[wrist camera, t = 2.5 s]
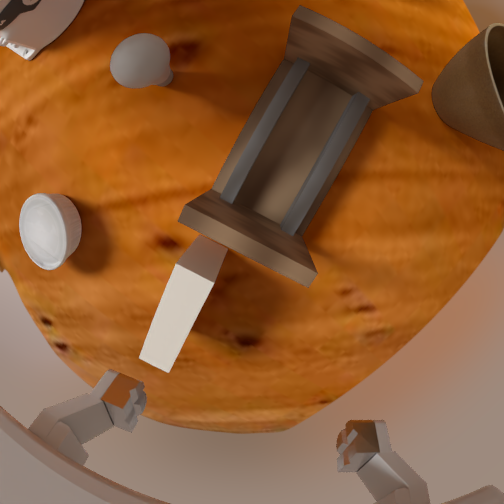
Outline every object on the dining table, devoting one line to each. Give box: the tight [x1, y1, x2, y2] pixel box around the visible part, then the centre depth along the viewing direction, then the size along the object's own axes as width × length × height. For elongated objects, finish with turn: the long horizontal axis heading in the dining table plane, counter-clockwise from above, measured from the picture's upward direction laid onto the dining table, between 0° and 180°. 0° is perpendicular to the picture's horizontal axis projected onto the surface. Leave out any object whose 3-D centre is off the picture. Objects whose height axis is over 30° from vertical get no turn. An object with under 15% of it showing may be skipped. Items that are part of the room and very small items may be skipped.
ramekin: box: [19, 193, 82, 270], centre depth 32 cm, size 11×11×5 cm
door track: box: [178, 5, 423, 288], centre depth 25 cm, size 12×21×12 cm, turn 152°
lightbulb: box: [110, 33, 173, 88], centre depth 23 cm, size 6×6×11 cm
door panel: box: [139, 235, 228, 373], centre depth 32 cm, size 4×14×10 cm, turn 152°
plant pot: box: [432, 23, 504, 151], centre depth 19 cm, size 15×15×16 cm
